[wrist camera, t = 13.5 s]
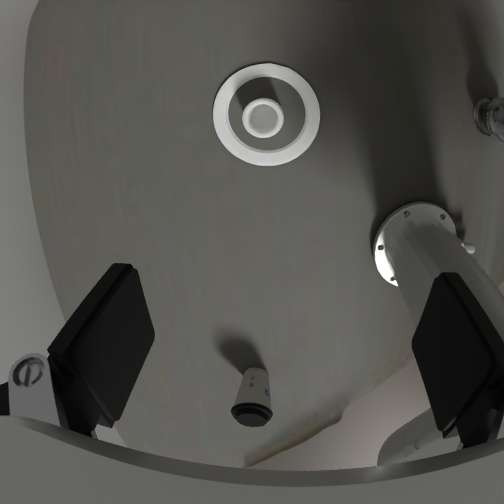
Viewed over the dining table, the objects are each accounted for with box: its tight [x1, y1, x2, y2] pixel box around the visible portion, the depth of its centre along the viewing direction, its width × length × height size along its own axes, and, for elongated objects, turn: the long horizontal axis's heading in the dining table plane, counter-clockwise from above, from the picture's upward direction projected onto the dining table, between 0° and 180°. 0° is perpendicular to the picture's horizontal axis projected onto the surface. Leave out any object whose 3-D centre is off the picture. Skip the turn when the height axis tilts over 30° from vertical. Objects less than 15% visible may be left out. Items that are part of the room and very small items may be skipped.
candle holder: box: [213, 63, 320, 166], centre depth 31 cm, size 12×12×4 cm
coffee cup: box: [231, 368, 273, 427], centre depth 49 cm, size 7×7×10 cm
